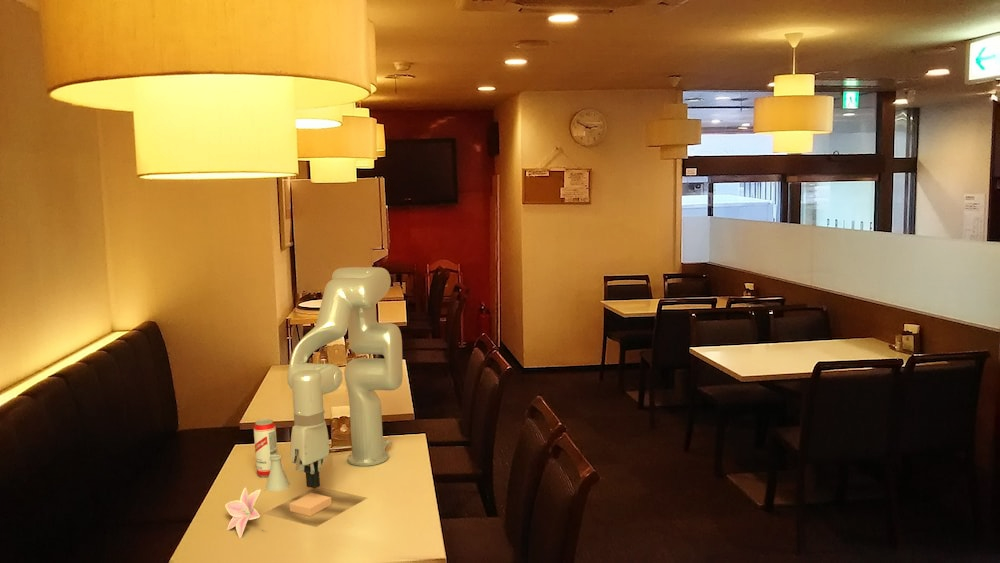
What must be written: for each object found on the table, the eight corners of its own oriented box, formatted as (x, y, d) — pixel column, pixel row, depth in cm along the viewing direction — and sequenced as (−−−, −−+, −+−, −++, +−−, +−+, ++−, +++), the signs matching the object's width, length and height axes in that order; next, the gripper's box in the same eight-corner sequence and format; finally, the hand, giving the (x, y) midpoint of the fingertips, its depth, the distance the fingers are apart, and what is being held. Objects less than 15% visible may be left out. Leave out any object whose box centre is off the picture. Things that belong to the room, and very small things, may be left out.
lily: (227, 523, 211) (211, 499, 206) (270, 499, 214) (255, 475, 209) (238, 554, 202) (220, 530, 196) (282, 528, 205) (266, 504, 199)
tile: (311, 492, 218) (289, 503, 211) (331, 497, 215) (309, 508, 208) (311, 500, 218) (289, 511, 212) (331, 505, 215) (310, 516, 208)
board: (317, 490, 228) (316, 486, 228) (367, 502, 219) (367, 497, 219) (263, 517, 211) (263, 513, 211) (316, 531, 202) (315, 526, 202)
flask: (283, 496, 225) (281, 461, 223) (259, 495, 226) (257, 460, 225) (295, 486, 232) (293, 452, 230) (271, 485, 233) (269, 451, 232)
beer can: (268, 479, 238) (265, 426, 235) (252, 476, 240) (248, 423, 238) (283, 472, 243) (279, 419, 241) (266, 469, 246) (263, 417, 244)
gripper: (318, 409, 219) (322, 474, 222) (277, 424, 207) (281, 494, 209) (339, 412, 216) (343, 479, 218) (299, 428, 203) (303, 499, 205)
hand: (313, 486), depth 214 cm, fingers closed
